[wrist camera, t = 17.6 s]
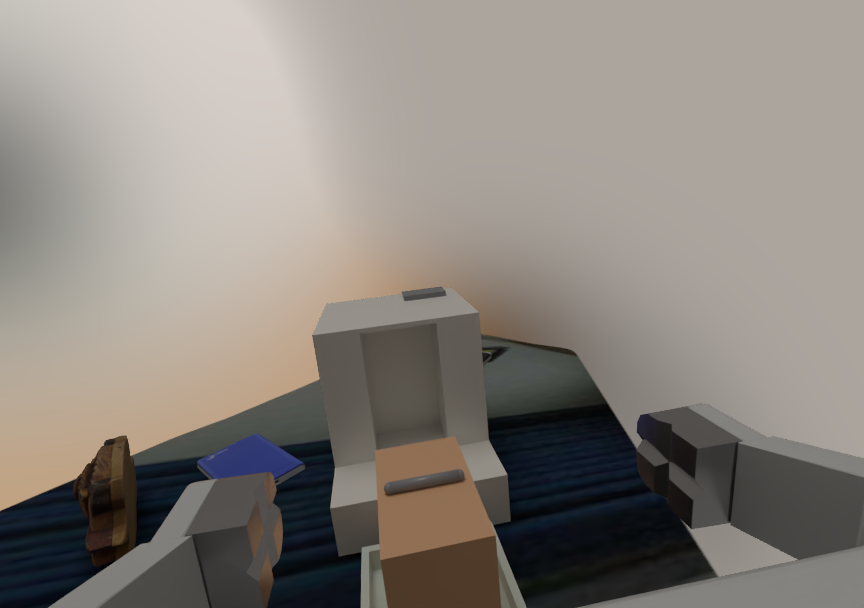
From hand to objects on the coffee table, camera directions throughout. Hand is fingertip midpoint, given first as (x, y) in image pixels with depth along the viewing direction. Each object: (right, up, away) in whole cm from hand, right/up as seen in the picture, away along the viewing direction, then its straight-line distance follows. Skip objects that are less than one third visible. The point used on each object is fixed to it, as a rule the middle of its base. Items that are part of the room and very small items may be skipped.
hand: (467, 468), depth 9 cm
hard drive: (-23, -18, +43) cm, 52 cm away
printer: (-3, -16, +39) cm, 42 cm away
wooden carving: (-32, -20, +33) cm, 50 cm away
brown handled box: (0, -19, +20) cm, 28 cm away
